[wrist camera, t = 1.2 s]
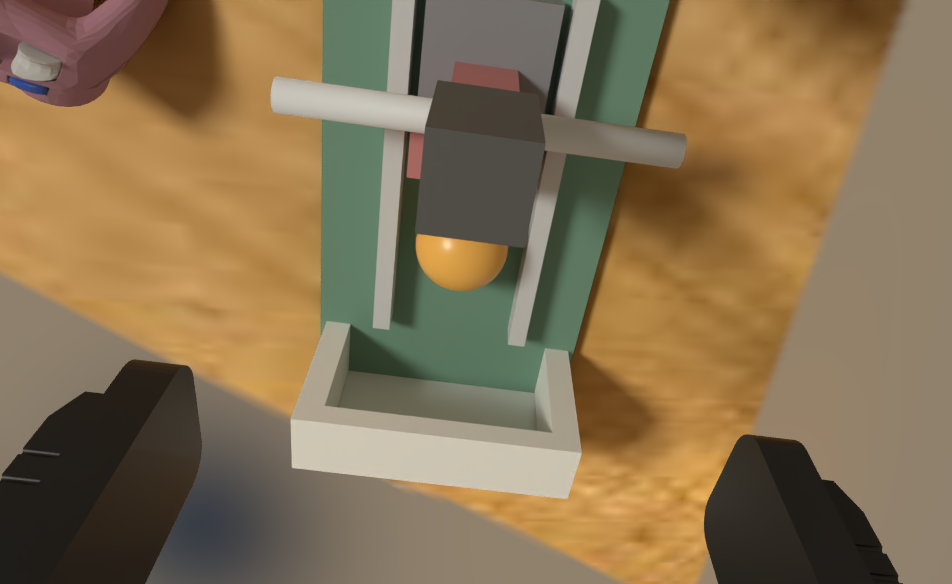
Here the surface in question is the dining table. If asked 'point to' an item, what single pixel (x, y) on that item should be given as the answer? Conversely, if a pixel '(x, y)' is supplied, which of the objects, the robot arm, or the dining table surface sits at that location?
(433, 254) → the ball
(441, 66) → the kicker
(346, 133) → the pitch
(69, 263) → the dining table surface
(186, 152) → the dining table surface
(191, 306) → the dining table surface
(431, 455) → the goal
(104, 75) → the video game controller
